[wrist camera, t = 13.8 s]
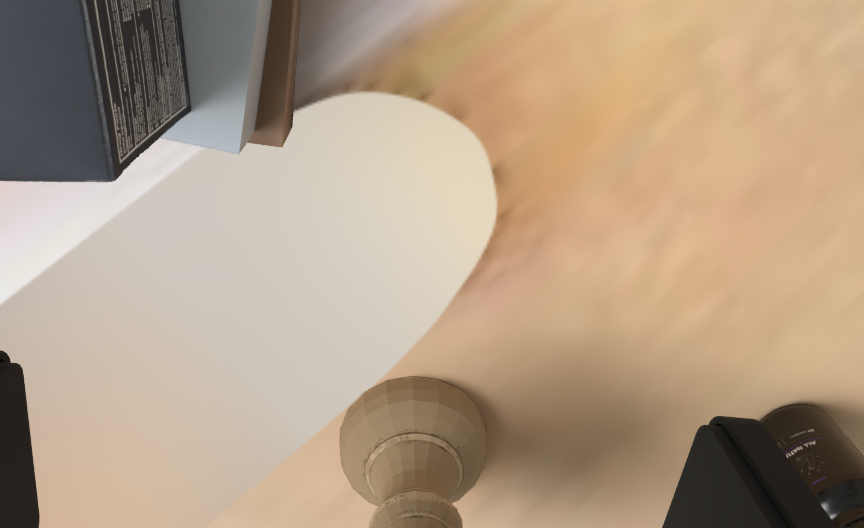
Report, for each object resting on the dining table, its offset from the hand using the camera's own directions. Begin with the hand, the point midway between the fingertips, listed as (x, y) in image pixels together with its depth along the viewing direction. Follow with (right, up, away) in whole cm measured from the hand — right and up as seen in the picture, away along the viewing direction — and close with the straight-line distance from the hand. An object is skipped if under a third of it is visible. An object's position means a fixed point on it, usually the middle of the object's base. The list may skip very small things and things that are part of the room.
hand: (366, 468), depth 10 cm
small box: (-14, +15, +23) cm, 31 cm away
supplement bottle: (+29, -11, +47) cm, 56 cm away
